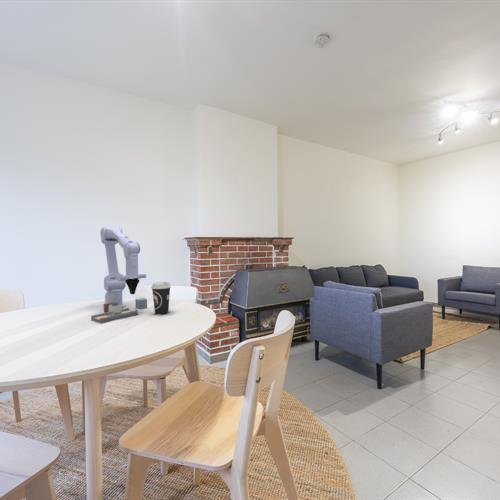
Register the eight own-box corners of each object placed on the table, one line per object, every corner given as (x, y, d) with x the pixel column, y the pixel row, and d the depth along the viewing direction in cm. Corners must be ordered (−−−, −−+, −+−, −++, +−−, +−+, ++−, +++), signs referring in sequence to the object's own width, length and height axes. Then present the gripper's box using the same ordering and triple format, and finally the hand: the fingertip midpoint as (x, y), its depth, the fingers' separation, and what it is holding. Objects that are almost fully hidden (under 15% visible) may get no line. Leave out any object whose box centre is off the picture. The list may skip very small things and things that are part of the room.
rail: (91, 320, 131) (91, 315, 131) (128, 312, 145) (128, 308, 145) (100, 323, 125) (100, 318, 125) (138, 314, 140) (137, 310, 140)
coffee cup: (168, 315, 138) (167, 284, 138) (148, 315, 138) (148, 284, 138) (173, 310, 148) (173, 281, 147) (155, 310, 148) (155, 282, 147)
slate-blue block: (135, 308, 154) (135, 299, 154) (143, 306, 157) (143, 297, 157) (138, 309, 151) (138, 300, 150) (147, 308, 154) (146, 299, 153)
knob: (108, 314, 135) (108, 303, 134) (117, 312, 138) (116, 302, 138) (113, 315, 132) (112, 305, 132) (121, 314, 135) (121, 303, 135)
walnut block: (104, 313, 142) (103, 304, 142) (111, 311, 147) (111, 302, 146) (110, 314, 141) (110, 304, 141) (118, 312, 145) (117, 302, 145)
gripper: (122, 268, 133) (122, 297, 134) (149, 266, 145) (150, 292, 145) (114, 267, 138) (115, 295, 138) (141, 265, 149) (142, 291, 150)
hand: (132, 293), depth 142 cm, fingers closed
